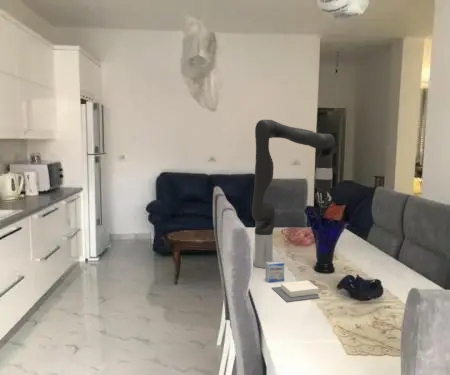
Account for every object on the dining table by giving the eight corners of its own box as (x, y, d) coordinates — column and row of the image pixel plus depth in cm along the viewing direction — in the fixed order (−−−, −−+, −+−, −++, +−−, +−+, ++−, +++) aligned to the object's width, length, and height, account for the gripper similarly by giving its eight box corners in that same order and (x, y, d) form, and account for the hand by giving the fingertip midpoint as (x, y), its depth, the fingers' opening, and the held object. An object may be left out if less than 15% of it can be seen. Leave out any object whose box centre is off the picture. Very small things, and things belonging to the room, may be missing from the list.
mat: (271, 288, 184) (271, 287, 184) (302, 285, 188) (302, 284, 188) (286, 302, 168) (286, 301, 168) (319, 298, 172) (319, 297, 172)
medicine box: (268, 282, 191) (268, 264, 190) (265, 279, 195) (265, 261, 194) (284, 281, 193) (284, 263, 192) (280, 277, 197) (280, 260, 196)
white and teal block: (307, 286, 185) (281, 289, 182) (307, 280, 185) (281, 283, 181) (318, 294, 176) (290, 297, 172) (318, 288, 175) (290, 291, 172)
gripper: (309, 176, 193) (308, 213, 196) (323, 179, 181) (322, 218, 183) (323, 176, 195) (322, 212, 198) (338, 178, 183) (337, 217, 185)
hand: (322, 215), depth 190 cm, fingers closed
